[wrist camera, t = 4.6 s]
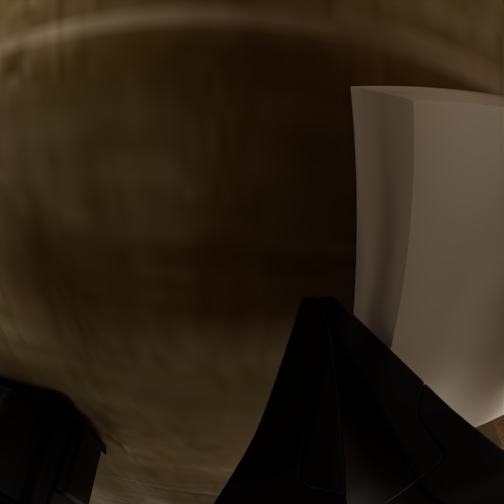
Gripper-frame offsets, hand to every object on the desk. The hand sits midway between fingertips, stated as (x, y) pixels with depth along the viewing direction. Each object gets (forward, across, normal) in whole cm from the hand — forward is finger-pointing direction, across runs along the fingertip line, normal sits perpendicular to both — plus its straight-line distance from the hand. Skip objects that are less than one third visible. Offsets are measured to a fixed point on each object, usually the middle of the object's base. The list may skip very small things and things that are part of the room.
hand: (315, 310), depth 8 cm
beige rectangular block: (+2, -5, 0) cm, 6 cm away
